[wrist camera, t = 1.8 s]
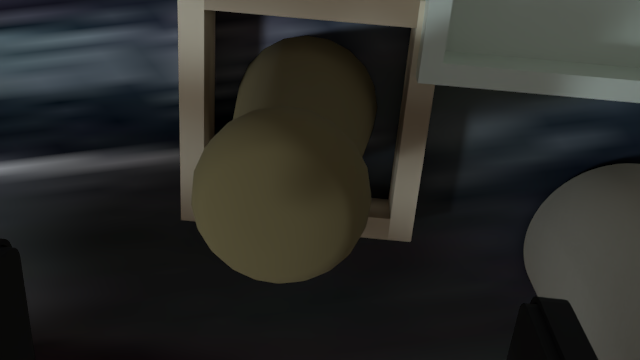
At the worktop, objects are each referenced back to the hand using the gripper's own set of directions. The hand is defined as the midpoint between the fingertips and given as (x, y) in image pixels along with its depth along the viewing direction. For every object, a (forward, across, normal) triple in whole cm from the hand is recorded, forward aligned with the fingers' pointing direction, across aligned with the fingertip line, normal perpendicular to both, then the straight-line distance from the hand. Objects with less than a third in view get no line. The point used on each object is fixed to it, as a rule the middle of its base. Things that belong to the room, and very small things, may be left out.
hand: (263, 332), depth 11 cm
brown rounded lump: (+16, +1, +1) cm, 16 cm away
